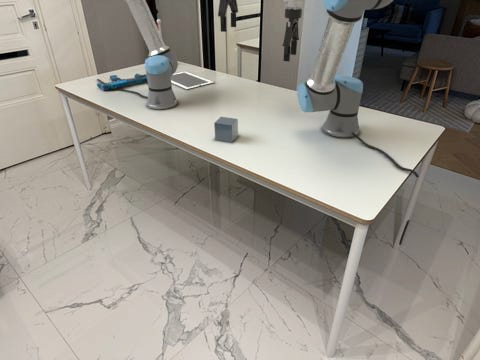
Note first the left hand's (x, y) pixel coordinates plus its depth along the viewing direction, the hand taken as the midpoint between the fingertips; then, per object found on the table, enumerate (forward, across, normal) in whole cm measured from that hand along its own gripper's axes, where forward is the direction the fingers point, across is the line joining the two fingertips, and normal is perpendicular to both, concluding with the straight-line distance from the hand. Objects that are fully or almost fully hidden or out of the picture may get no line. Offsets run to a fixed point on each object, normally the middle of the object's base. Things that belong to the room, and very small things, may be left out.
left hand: (228, 29), depth 168 cm
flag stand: (+35, -47, -69) cm, 90 cm away
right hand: (+10, +4, +32) cm, 34 cm away
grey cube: (+35, +48, +17) cm, 61 cm away
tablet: (+35, -19, -37) cm, 54 cm away
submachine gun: (+35, -3, -70) cm, 78 cm away
